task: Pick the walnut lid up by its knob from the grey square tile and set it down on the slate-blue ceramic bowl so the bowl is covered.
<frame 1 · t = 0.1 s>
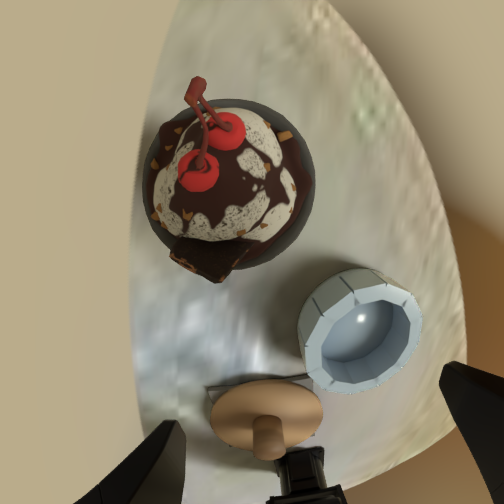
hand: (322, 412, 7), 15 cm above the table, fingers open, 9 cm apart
lid: (266, 418, 25), point 1 cm above the table, touching grey square tile
bowl: (351, 322, 22), on the table
sundae: (236, 183, 20), on the table
grey square tile: (266, 414, 25), on the table
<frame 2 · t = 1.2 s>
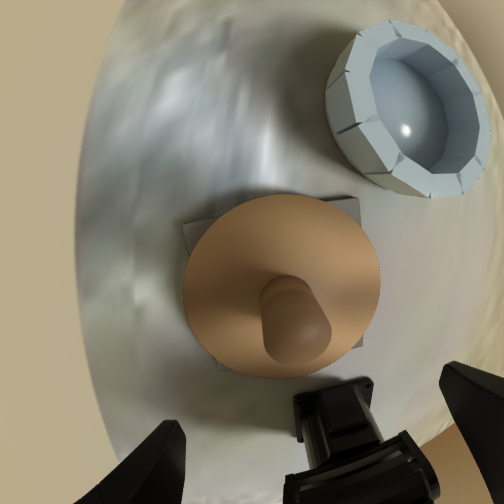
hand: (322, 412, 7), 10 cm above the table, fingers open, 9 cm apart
lid: (284, 294, 16), point 1 cm above the table, touching grey square tile
bowl: (397, 115, 14), on the table
grey square tile: (283, 291, 16), on the table
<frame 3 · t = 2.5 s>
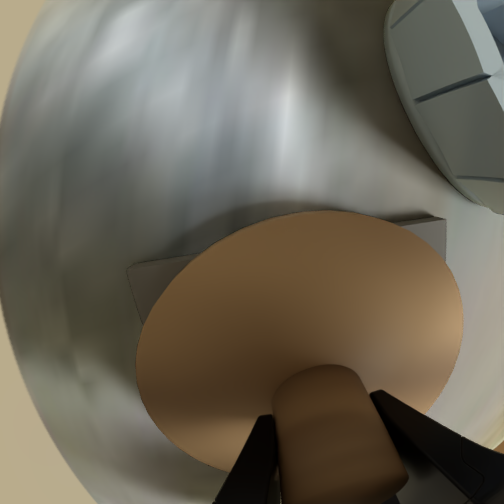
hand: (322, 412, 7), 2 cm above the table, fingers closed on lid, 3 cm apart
lid: (313, 384, 8), point 1 cm above the table, touching gripper, grey square tile
bowl: (481, 90, 6), on the table
grey square tile: (310, 373, 9), on the table
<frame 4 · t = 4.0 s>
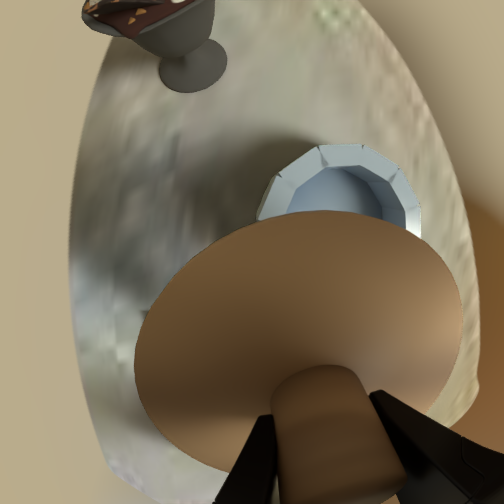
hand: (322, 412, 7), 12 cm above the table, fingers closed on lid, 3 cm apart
lid: (312, 384, 8), point 11 cm above the table, touching gripper
bowl: (329, 225, 18), on the table
sundae: (192, 64, 16), on the table
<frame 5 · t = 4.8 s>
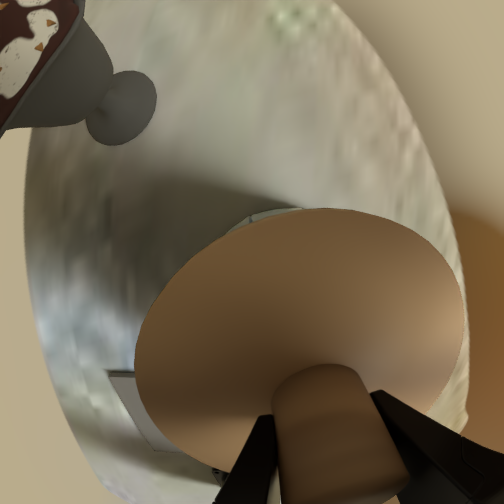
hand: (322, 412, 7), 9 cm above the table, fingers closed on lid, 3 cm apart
lid: (313, 383, 8), point 8 cm above the table, touching gripper
bowl: (285, 293, 16), on the table
sundae: (120, 107, 13), on the table
grey square tile: (187, 416, 19), on the table
when the fingers open (7 cm above the table, at t = 5.4 s): lid drops 2 cm, resting on bowl.
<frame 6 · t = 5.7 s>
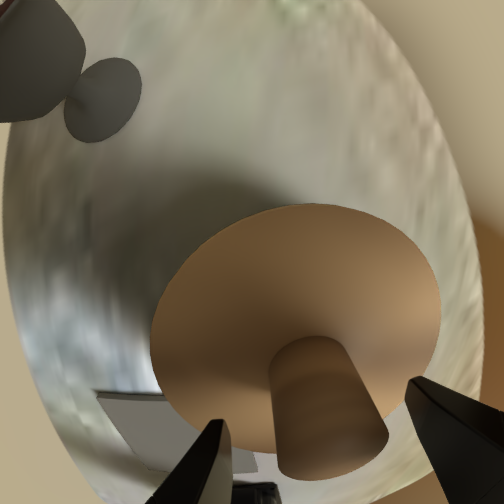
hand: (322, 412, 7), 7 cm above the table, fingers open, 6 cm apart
lid: (305, 357, 10), point 4 cm above the table, touching bowl
sundae: (101, 98, 11), on the table
grey square tile: (182, 439, 16), on the table
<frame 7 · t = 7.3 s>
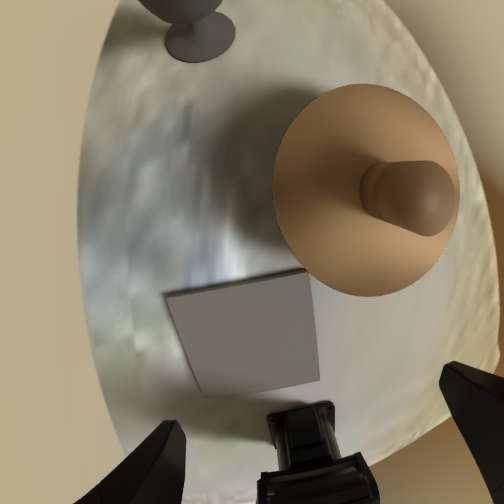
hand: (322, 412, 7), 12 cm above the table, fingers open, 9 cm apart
lid: (378, 190, 13), point 4 cm above the table, touching bowl
sundae: (200, 36, 14), on the table
grey square tile: (249, 342, 20), on the table
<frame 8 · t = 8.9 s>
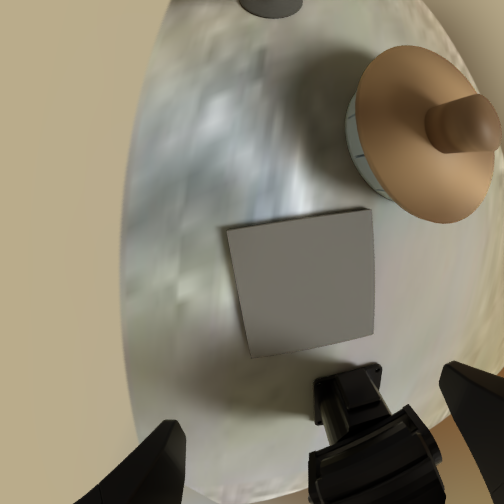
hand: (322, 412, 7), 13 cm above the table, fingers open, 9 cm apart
lid: (435, 131, 13), point 4 cm above the table, touching bowl
bowl: (404, 138, 17), on the table
grey square tile: (308, 286, 19), on the table
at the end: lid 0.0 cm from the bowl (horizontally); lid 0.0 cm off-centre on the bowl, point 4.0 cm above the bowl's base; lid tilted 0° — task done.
